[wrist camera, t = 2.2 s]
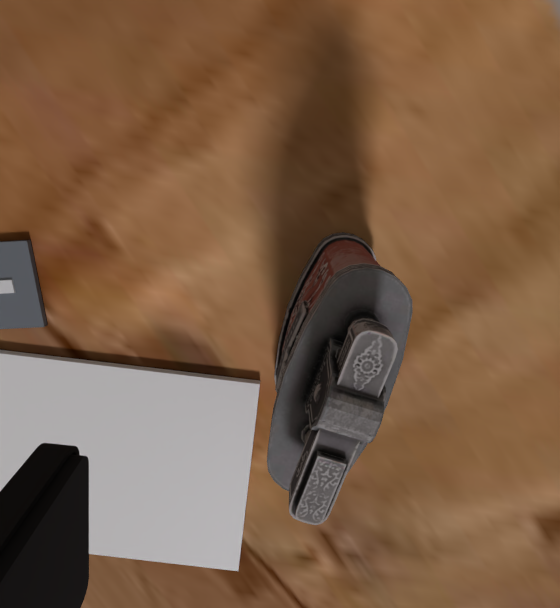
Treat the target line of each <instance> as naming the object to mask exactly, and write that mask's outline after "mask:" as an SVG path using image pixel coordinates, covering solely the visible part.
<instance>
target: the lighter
mask: <svg viewBox="0 0 560 608" xmlns="http://www.w3.org/2000/svg"><path fill="white" fill-rule="evenodd" d="M411 317H412V299H411V297H410V294H409V292H408V290H407V288H406V287H405V285H404V284H403V283H402V282H401V281H400V280H399V279H398V278H397V277H396V276H395V275H394V274H393V273H392V272H390V271H389V270H387V269H385V268H383V267H381V266H380V265H379V264H378V263H377V261H376V257H375V255H374V253H373V250H372V249H371V248H370V246H369V245H368V244H367V243H366V242H365V241H364V240H363V239H361V238H359V237H358V236H356V235H354V234H349V233H343V232H342V233H335V234H331V235H329V236H328V237H326V238H324V239H323V240H322V241H321V242H320V243H319V244H318V246H317V248H316V249H315V251H314V253H313V255H312V256H311V258H310V260H309V261H308V263H307V265H306V267H305V268H304V270H303V272H302V274H301V276H300V278H299V280H298V283H297V285H296V287H295V290H294V292H293V294H292V297H291V299H290V301H289V304H288V306H287V310H286V314H285V317H284V321H283V325H282V329H281V333H280V337H279V342H278V350H277V358H276V366H275V376H274V377H275V384H276V389H275V390H276V392H277V396H276V400H275V404H274V408H273V415H272V422H271V430H270V437H269V445H268V455H267V465H268V471H269V473H270V475H271V477H272V478H273V480H274V481H275V482H276V483H277V484H278V485H280V486H281V487H282V488H283V489H285V490H287V491H289V511H290V515H291V516H292V517H293V518H294V519H297V520H299V521H301V522H305V523H308V524H313V525H318V524H321V523H323V522H324V521H325V520H326V519H327V518H328V516H329V515H330V512H331V510H332V508H333V505H334V503H335V500H336V498H337V496H338V493H339V491H340V489H341V486H342V484H343V481H344V479H345V477H346V475H347V473H348V472H349V470H350V469H351V467H352V466H353V464H354V463H355V462H356V460H357V459H358V457H359V456H360V454H361V453H362V451H363V450H364V448H365V447H366V445H367V443H370V442H372V441H373V439H374V438H375V436H376V434H377V431H378V429H379V427H380V424H381V422H382V418H383V414H384V410H385V408H386V406H387V404H388V401H389V398H390V395H391V392H392V389H393V386H394V383H395V380H396V378H397V375H398V372H399V369H400V366H401V363H402V360H403V355H404V350H405V345H406V341H407V336H408V331H409V326H410V321H411Z"/></svg>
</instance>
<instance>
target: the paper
mask: <svg viewBox="0 0 560 608" xmlns="http://www.w3.org/2000/svg"><path fill="white" fill-rule="evenodd" d="M259 388H260V381H259V380H251V379H243V378H234V377H226V376H217V375H209V374H201V373H192V372H184V371H175V370H167V369H158V368H150V367H142V366H133V365H125V364H116V363H108V362H100V361H91V360H83V359H74V358H66V357H57V356H49V355H41V354H32V353H24V352H15V351H7V350H0V491H1V490H2V489H3V488H4V486H5V485H6V484H7V483H8V482H9V480H10V479H11V478H12V477H13V476H14V474H15V473H16V472H17V471H18V470H19V468H20V467H21V466H22V465H23V464H24V462H25V461H26V460H27V459H28V458H29V456H30V455H31V454H32V453H33V452H34V450H35V449H36V448H37V447H38V446H39V445H40V444H42V443H52V444H61V445H71V446H76V447H78V449H79V455H82V456H87V457H88V460H89V554H95V555H104V556H112V557H121V558H129V559H138V560H147V561H155V562H164V563H173V564H181V565H190V566H198V567H207V568H216V569H224V570H233V571H238V569H239V561H240V552H241V543H242V535H243V526H244V517H245V509H246V500H247V492H248V483H249V474H250V466H251V457H252V448H253V440H254V431H255V422H256V414H257V405H258V396H259Z"/></svg>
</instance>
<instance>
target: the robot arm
mask: <svg viewBox="0 0 560 608" xmlns="http://www.w3.org/2000/svg"><path fill="white" fill-rule="evenodd" d="M88 579H89V460H88V457H87V456H82V455H79V449H78V447H76V446H71V445H61V444H52V443H42V444H40V445H39V446H38V447H37V448H36V449H35V450H34V452H33V453H32V454H31V455H30V456H29V458H28V459H27V460H26V461H25V462H24V464H23V465H22V466H21V467H20V468H19V470H18V471H17V472H16V473H15V474H14V476H13V477H12V478H11V479H10V480H9V482H8V483H7V484H6V485H5V486H4V488H3V489H2V490H1V491H0V608H80V607H81V605H82V603H83V600H84V597H85V594H86V590H87V586H88Z"/></svg>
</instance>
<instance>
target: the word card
mask: <svg viewBox="0 0 560 608" xmlns="http://www.w3.org/2000/svg"><path fill="white" fill-rule="evenodd" d="M46 325H47V320H46V315H45V310H44V305H43V300H42V295H41V290H40V285H39V280H38V275H37V270H36V265H35V260H34V255H33V250H32V245H31V240H16V241H0V329H10V328H31V327H45V326H46Z"/></svg>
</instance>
